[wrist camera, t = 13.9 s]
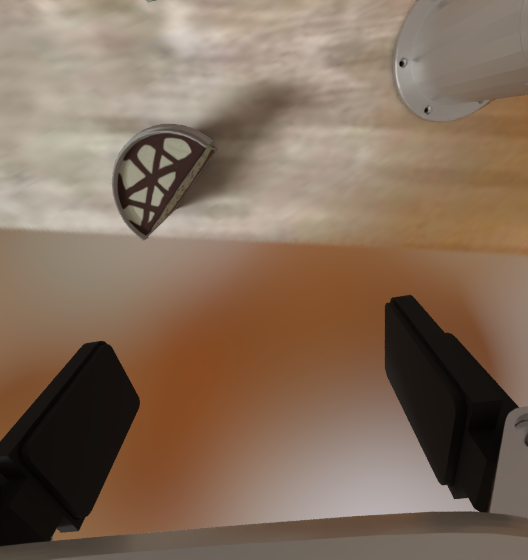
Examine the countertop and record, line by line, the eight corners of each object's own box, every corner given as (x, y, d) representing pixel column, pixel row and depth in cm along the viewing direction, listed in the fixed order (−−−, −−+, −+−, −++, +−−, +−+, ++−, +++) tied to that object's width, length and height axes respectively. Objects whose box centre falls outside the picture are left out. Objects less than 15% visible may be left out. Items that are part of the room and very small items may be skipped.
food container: (180, 99, 33) (147, 87, 24) (224, 138, 34) (209, 141, 25) (127, 187, 37) (83, 205, 28) (169, 218, 39) (140, 244, 30)
